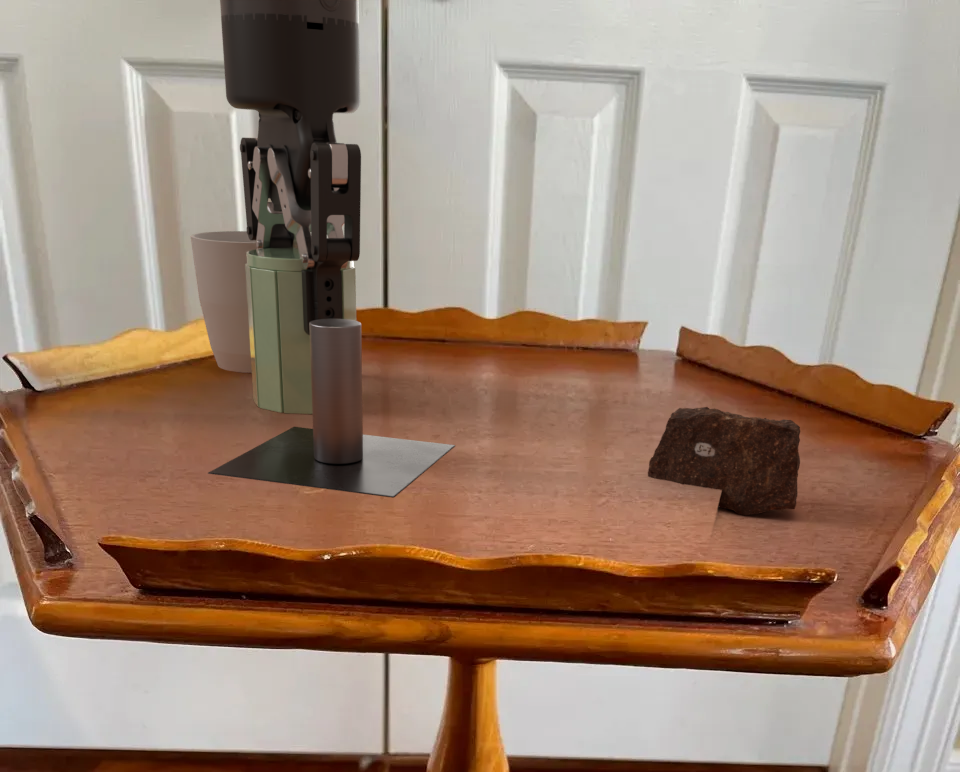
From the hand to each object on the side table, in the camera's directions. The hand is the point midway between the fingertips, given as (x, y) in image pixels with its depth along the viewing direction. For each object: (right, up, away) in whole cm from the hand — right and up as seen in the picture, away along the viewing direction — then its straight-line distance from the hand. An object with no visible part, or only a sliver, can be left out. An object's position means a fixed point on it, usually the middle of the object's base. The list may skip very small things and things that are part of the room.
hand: (302, 325), depth 64 cm
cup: (-5, 0, +12) cm, 14 cm away
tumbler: (0, -4, +2) cm, 5 cm away
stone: (+24, -13, -10) cm, 29 cm away
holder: (+3, -11, -9) cm, 14 cm away
